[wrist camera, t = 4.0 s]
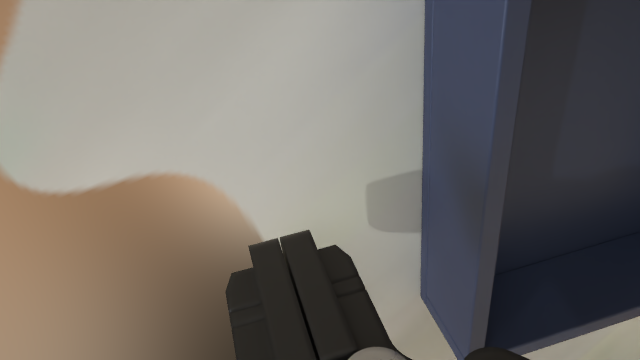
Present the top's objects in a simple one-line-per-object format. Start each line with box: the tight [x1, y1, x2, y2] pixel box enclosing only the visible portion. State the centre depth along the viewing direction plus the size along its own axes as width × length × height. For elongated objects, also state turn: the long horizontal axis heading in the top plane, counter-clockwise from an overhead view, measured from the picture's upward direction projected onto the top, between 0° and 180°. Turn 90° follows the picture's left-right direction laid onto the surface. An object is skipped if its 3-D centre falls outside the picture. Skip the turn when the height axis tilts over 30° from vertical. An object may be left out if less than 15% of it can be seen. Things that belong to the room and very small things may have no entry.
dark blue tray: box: [421, 0, 640, 360], centre depth 15 cm, size 13×11×4 cm
